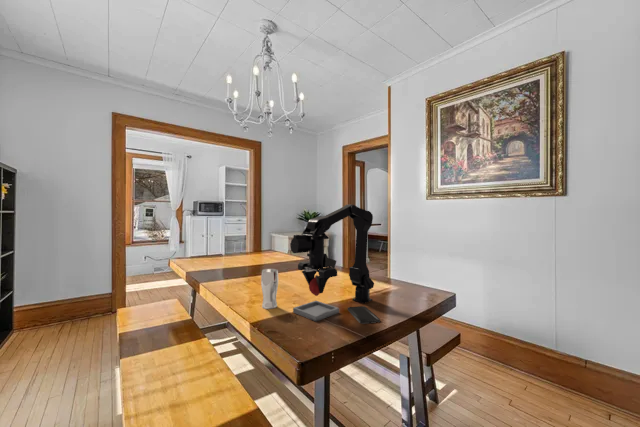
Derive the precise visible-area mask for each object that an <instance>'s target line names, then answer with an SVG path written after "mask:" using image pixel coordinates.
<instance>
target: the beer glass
mask: <svg viewBox="0 0 640 427" xmlns="http://www.w3.org/2000/svg"><path fill="white" fill-rule="evenodd" d="M260 282H261V284H260V285H261V292H262V304H261V308H262V309H265V310H273V309H276V308H277V307H278V302H277V294H278V287H279V269H276V268H263V269H262V270H261V277H260Z"/></svg>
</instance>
